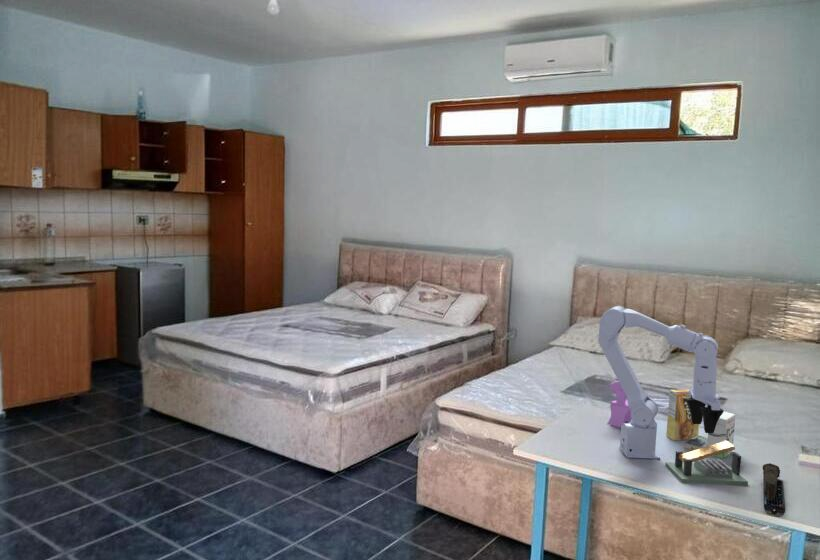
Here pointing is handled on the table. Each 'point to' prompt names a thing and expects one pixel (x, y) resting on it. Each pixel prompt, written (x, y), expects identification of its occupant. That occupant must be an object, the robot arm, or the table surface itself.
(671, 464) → the circuit board
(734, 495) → the table surface
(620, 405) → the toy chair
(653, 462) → the table surface
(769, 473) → the hand tool
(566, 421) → the table surface
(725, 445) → the strap lever
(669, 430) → the candy box
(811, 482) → the table surface
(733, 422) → the ink box
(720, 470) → the heat sink
